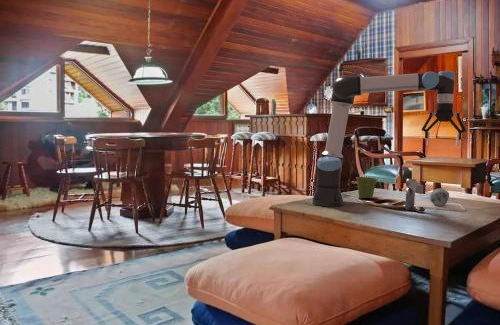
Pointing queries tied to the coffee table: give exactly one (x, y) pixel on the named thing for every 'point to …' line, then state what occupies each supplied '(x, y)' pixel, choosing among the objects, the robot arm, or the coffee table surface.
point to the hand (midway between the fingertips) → (442, 145)
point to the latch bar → (414, 185)
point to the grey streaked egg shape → (439, 197)
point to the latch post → (409, 199)
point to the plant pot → (366, 186)
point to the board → (446, 207)
